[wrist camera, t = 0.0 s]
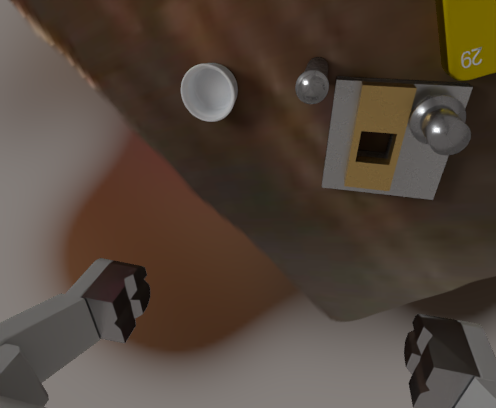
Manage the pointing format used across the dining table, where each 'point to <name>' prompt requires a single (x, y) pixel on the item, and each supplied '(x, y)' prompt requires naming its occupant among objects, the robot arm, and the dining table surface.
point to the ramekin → (209, 91)
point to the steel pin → (313, 81)
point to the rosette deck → (395, 134)
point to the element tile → (467, 37)
